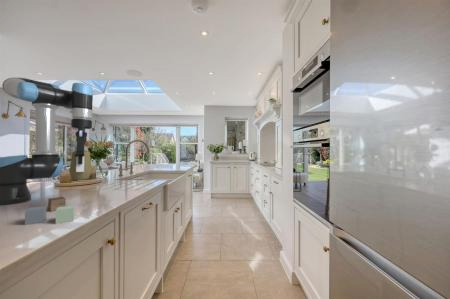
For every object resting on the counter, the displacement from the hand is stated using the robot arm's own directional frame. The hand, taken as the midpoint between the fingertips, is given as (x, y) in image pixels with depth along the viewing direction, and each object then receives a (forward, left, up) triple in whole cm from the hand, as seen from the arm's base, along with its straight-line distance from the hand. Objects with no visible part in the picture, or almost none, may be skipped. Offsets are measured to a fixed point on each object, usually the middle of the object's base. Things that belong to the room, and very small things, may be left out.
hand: (80, 170), depth 91 cm
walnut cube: (-7, -9, -18) cm, 21 cm away
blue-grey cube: (+9, -13, -18) cm, 24 cm away
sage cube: (+13, -4, -18) cm, 22 cm away
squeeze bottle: (0, 0, -4) cm, 4 cm away
